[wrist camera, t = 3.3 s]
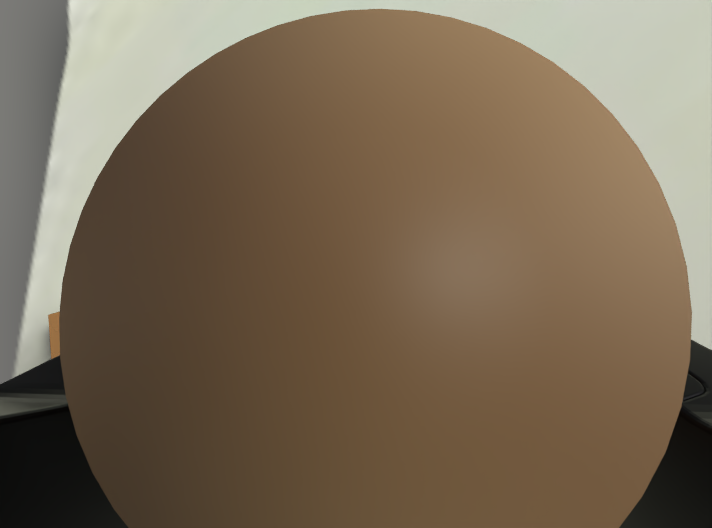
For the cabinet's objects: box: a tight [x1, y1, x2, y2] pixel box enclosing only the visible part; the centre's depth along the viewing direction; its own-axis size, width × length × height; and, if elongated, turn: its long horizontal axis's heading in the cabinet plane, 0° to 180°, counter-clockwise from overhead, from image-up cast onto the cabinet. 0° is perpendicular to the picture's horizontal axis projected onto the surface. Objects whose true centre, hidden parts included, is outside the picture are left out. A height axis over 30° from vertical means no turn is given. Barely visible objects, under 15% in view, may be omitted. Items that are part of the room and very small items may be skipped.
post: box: [59, 9, 692, 528], centre depth 9 cm, size 5×5×13 cm
